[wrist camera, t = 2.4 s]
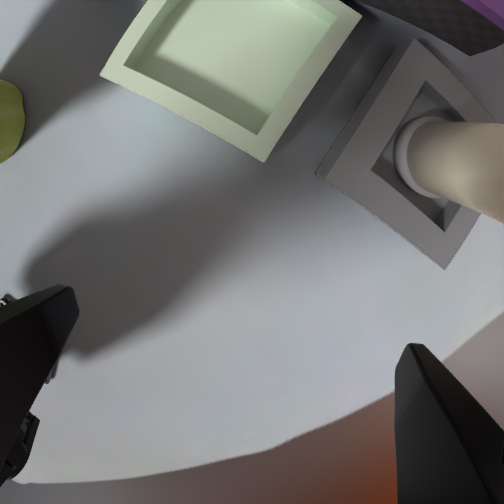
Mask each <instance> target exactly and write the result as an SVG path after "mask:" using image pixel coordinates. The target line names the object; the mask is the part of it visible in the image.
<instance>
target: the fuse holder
mask: <svg viewBox="0 0 504 504" xmlns="http://www.w3.org/2000/svg"><path fill="white" fill-rule="evenodd" d="M429 116H435V117H440V118H443V119H445V120H447V121H448V122H480V123H496V122H495V121H494V120H493V118H492V117H491V116H490V115H489V113H488V112H487V111H486V110H485V109H484V107H483V106H482V105H481V104H480V103H479V102H478V100H477V99H476V98H475V97H474V96H473V95H472V94H471V93H470V91H469V90H468V89H467V88H466V87H465V86H464V85H463V84H462V83H461V82H460V81H459V80H458V79H457V78H456V77H455V76H454V75H453V73H452V72H451V71H450V70H449V69H448V68H447V67H445V66H444V65H443V64H442V63H441V62H440V61H439V60H438V59H437V58H436V57H435V56H434V55H433V54H432V53H431V52H430V51H429V50H427V49H426V48H425V47H424V46H423V45H422V44H421V43H420V42H418V41H417V40H416V39H415V38H413V39H411V40H409V41H407V42H405V43H403V44H401V45H399V46H397V47H395V49H394V50H393V52H392V53H391V55H390V57H389V58H388V60H387V61H386V63H385V64H384V66H383V68H382V69H381V71H380V72H379V74H378V75H377V77H376V79H375V80H374V82H373V83H372V85H371V86H370V88H369V89H368V91H367V93H366V94H365V96H364V97H363V99H362V100H361V102H360V103H359V105H358V107H357V108H356V110H355V111H354V113H353V114H352V116H351V117H350V119H349V121H348V122H347V124H346V125H345V127H344V128H343V130H342V131H341V133H340V134H339V136H338V138H337V139H336V141H335V142H334V144H333V145H332V147H331V148H330V150H329V151H328V153H327V155H326V156H325V158H324V159H323V161H322V162H321V164H320V165H319V167H318V168H317V170H316V171H315V174H316V175H318V176H319V177H321V178H322V179H324V180H325V181H327V182H328V183H330V184H331V185H332V186H334V187H335V188H337V189H338V190H340V191H341V192H343V193H344V194H345V195H347V196H348V197H350V198H351V199H352V200H354V201H355V202H357V203H358V204H359V205H361V206H362V207H364V208H365V209H366V210H368V211H369V212H370V213H372V214H373V215H374V216H376V217H377V218H378V219H380V220H381V221H382V222H384V223H385V224H386V225H388V226H389V227H390V228H392V229H393V230H394V231H396V232H397V233H398V234H399V235H401V236H402V237H403V238H405V239H406V240H407V241H408V242H410V243H411V244H412V245H413V246H415V247H416V248H417V249H418V250H420V251H421V252H422V253H423V254H424V255H426V256H427V257H428V258H430V259H431V260H432V261H433V262H435V263H436V264H437V265H439V266H440V267H441V268H442V269H444V270H445V269H446V268H447V266H448V265H449V263H450V262H451V260H452V259H453V257H454V256H455V254H456V253H457V251H458V250H459V248H460V247H461V245H462V244H463V242H464V240H465V239H466V237H467V236H468V234H469V232H470V231H471V229H472V228H473V226H474V224H475V223H476V221H477V219H478V218H479V216H480V214H481V213H479V212H477V211H475V210H472V209H470V208H468V207H465V206H463V205H460V204H458V203H456V202H453V201H451V200H448V199H446V198H443V197H441V198H430V197H426V196H424V195H421V194H419V193H416V192H414V191H412V190H410V189H409V188H408V187H406V186H405V185H404V184H403V182H402V181H401V180H400V178H399V176H398V175H397V172H396V170H395V167H394V162H393V145H394V141H395V138H396V135H397V133H398V132H399V130H400V129H401V127H402V126H403V125H404V124H405V123H406V122H408V121H409V120H411V119H413V118H416V117H429Z"/></svg>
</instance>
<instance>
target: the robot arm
mask: <svg viewBox="0 0 504 504" xmlns="http://www.w3.org/2000/svg"><path fill="white" fill-rule="evenodd" d="M78 316H79V308H78V304H77V301H76V297H75V293H74V290H73V288H72V287H70V286H67V285H64V284H58V285H55V286H53V287H50V288H47V289H45V290H42V291H39V292H37V293H34V294H31V295H29V296H26V297H23V298H21V299H18V300H16V301H13V302H9V301H7V300H6V299H4V298H1V299H0V487H1V485H2V484H3V483H4V482H5V481H6V480H9V479H12V478H14V477H15V476H17V475H18V474H19V473H20V471H21V470H22V469H23V468H24V466H25V464H26V463H27V460H28V458H29V456H30V452H31V449H32V445H33V442H34V438H35V435H36V432H37V429H38V425H39V422H40V420H39V419H38V418H37V417H36V416H34V415H33V414H32V413H31V412H30V411H29V410H30V408H31V406H32V404H33V403H34V401H35V399H36V397H37V395H38V393H39V391H40V390H41V388H42V386H43V384H44V383H45V384H49V382H50V380H51V377H52V372H53V367H54V365H55V363H56V361H57V360H58V358H59V356H60V354H61V352H62V350H63V347H64V345H65V343H66V341H67V339H68V337H69V335H70V333H71V331H72V329H73V327H74V325H75V323H76V321H77V319H78ZM394 413H395V414H394V430H395V446H396V464H397V501H398V502H397V503H398V504H504V431H503V429H502V428H501V427H500V426H499V425H498V424H497V423H496V422H495V420H494V419H493V418H492V417H491V416H490V415H489V414H488V412H486V410H485V409H484V408H483V407H482V406H481V405H480V404H479V402H478V401H477V400H476V399H475V398H474V397H473V396H472V395H471V394H470V393H469V392H468V390H467V389H465V387H464V386H463V385H462V384H461V383H460V382H459V381H458V380H457V379H456V378H455V377H454V375H453V374H452V373H451V372H450V371H449V370H448V369H447V368H446V367H445V366H444V365H443V364H442V363H441V362H440V361H439V360H438V359H437V358H436V357H435V356H434V355H433V354H432V353H431V351H430V350H429V349H428V348H427V347H426V346H425V345H423V344H417V343H409V344H407V345H406V347H405V349H404V351H403V353H402V355H401V357H400V360H399V362H398V364H397V366H396V369H395V412H394Z"/></svg>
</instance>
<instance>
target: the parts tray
mask: <svg viewBox="0 0 504 504" xmlns="http://www.w3.org/2000/svg"><path fill="white" fill-rule="evenodd" d="M361 17H362V15H360V14H359V13H357V12H356V11H355V10H353V9H352V8H350V7H349V6H347V5H345V4H344V3H342V2H341V1H339V0H148V1H147V2H146V4H145V5H144V6H143V8H142V9H141V10H140V12H139V13H138V15H137V16H136V17H135V19H134V20H133V22H132V23H131V25H130V26H129V28H128V29H127V31H126V32H125V34H124V35H123V37H122V38H121V40H120V41H119V43H118V45H117V46H116V48H115V49H114V51H113V53H112V54H111V56H110V58H109V59H108V61H107V63H106V64H105V66H104V68H103V70H102V71H101V73H100V75H99V76H102V77H104V78H106V79H108V80H110V81H112V82H114V83H117V84H119V85H121V86H123V87H125V88H127V89H129V90H131V91H133V92H135V93H137V94H139V95H141V96H143V97H145V98H147V99H149V100H151V101H153V102H155V103H157V104H159V105H161V106H163V107H165V108H167V109H169V110H171V111H173V112H175V113H176V114H178V115H180V116H182V117H184V118H186V119H188V120H189V121H191V122H193V123H195V124H197V125H199V126H200V127H202V128H204V129H206V130H208V131H209V132H211V133H213V134H215V135H217V136H218V137H220V138H222V139H224V140H225V141H227V142H229V143H231V144H232V145H234V146H236V147H237V148H239V149H241V150H243V151H244V152H246V153H248V154H249V155H251V156H253V157H254V158H256V159H258V160H259V161H261V162H263V163H264V162H265V160H266V159H267V157H268V156H269V154H270V153H271V151H272V149H273V148H274V146H275V145H276V143H277V142H278V140H279V139H280V137H281V135H282V134H283V132H284V131H285V129H286V128H287V126H288V125H289V123H290V122H291V120H292V119H293V117H294V115H295V114H296V112H297V111H298V109H299V108H300V106H301V105H302V103H303V102H304V100H305V99H306V97H307V96H308V94H309V93H310V91H311V90H312V88H313V87H314V85H315V84H316V82H317V81H318V79H319V78H320V76H321V75H322V73H323V72H324V70H325V69H326V68H327V66H328V65H329V63H330V62H331V60H332V59H333V57H334V56H335V54H336V53H337V51H338V50H339V49H340V47H341V46H342V44H343V43H344V41H345V40H346V39H347V37H348V36H349V34H350V33H351V31H352V30H353V29H354V27H355V26H356V24H357V23H358V22H359V20H360V19H361Z"/></svg>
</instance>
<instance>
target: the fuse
mask: <svg viewBox="0 0 504 504" xmlns="http://www.w3.org/2000/svg"><path fill="white" fill-rule="evenodd" d="M393 162H394V167H395V170H396V172H397V175H398V176H399V178H400V180H401V181H402V182H403V184H404V185H405V186H406V187H408V188H409V189H410V190H412V191H414V192H416V193H419V194H421V195H424V196H426V197H430V198H441V197H443V198H446V199H448V200H451V201H453V202H456V203H458V204H460V205H463V206H465V207H468V208H470V209H472V210H475V211H477V212H479V213H482V214H484V215H486V216H488V217H491V218H493V219H495V220H497V221H499V222H502V223H504V124H498V123H480V122H448V121H447V120H445V119H443V118H440V117H435V116H429V117H416V118H413V119H411V120H409V121H408V122H406V123H405V124H404V125H403V126H402V127H401V129H400V130H399V132H398V133H397V135H396V138H395V141H394V145H393Z"/></svg>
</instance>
